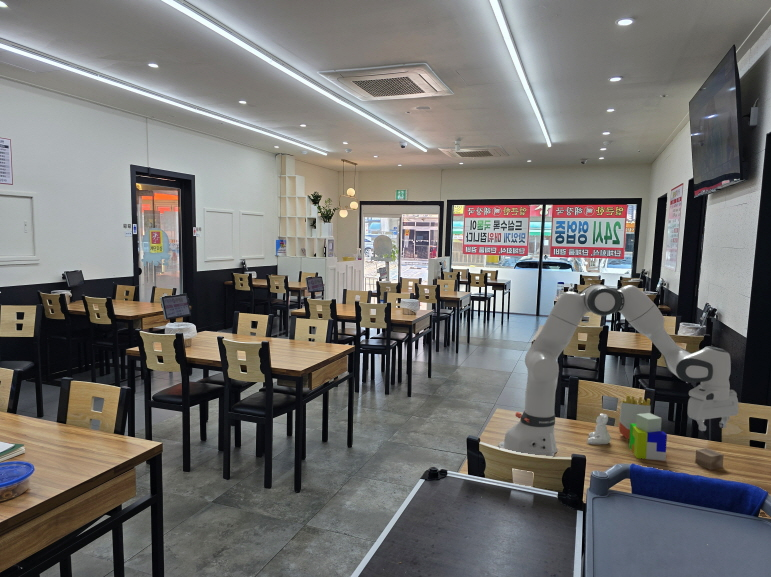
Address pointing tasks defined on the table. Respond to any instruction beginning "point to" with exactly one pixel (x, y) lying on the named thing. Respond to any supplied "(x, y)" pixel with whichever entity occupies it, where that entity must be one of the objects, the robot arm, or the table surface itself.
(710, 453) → the brick
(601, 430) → the white creature statuette
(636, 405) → the french fries container
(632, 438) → the puzzle toy
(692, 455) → the table surface
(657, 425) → the brick
